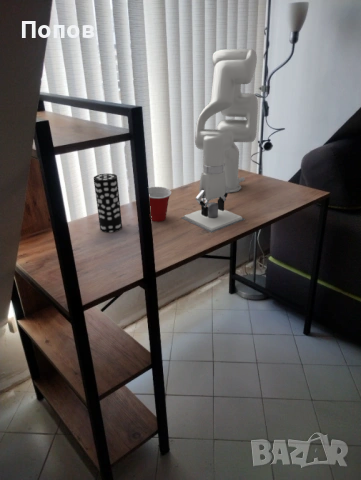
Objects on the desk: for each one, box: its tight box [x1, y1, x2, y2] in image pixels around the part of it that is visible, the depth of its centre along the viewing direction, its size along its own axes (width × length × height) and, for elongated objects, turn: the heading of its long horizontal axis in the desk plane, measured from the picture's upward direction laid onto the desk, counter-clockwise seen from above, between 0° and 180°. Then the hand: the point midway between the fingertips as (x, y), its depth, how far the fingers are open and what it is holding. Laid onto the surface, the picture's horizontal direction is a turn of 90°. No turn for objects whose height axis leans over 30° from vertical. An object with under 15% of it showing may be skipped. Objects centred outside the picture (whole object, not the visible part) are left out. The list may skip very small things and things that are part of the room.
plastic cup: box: [148, 186, 172, 223], centre depth 150 cm, size 11×11×12 cm
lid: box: [183, 201, 243, 231], centre depth 150 cm, size 16×16×6 cm
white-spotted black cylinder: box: [93, 173, 123, 233], centre depth 142 cm, size 8×8×20 cm
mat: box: [180, 216, 246, 233], centre depth 151 cm, size 18×18×1 cm
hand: (212, 212), depth 150 cm, fingers open, 7 cm apart
